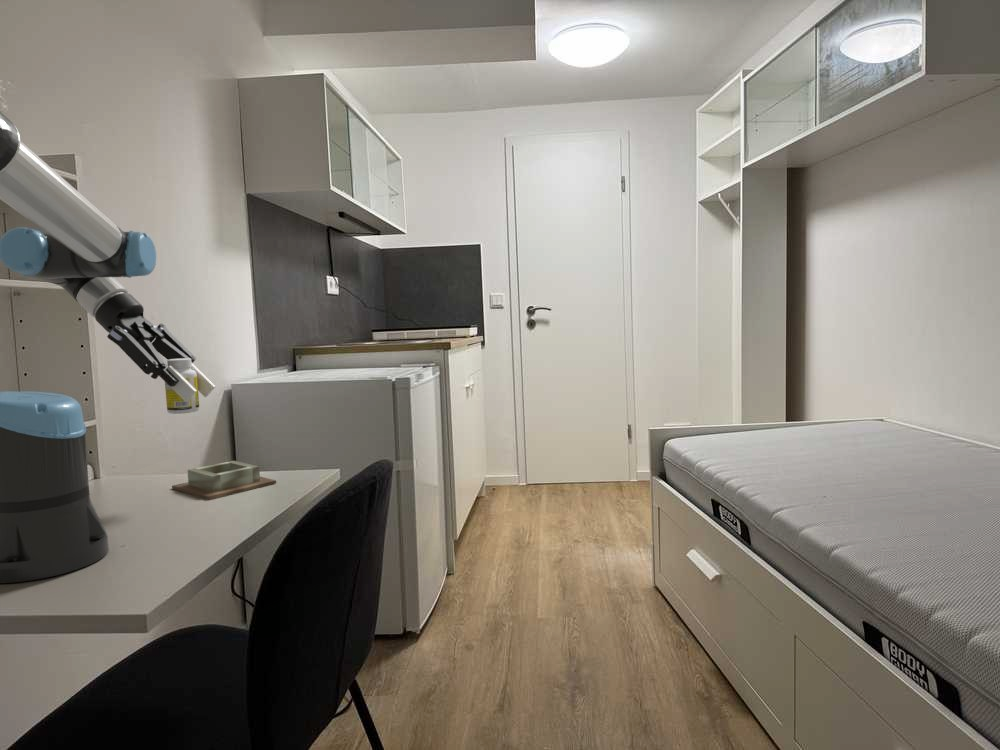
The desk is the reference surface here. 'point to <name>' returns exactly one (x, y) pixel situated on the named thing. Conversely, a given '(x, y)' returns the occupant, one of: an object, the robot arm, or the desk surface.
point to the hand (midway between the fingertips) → (200, 393)
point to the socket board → (222, 480)
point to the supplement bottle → (172, 398)
